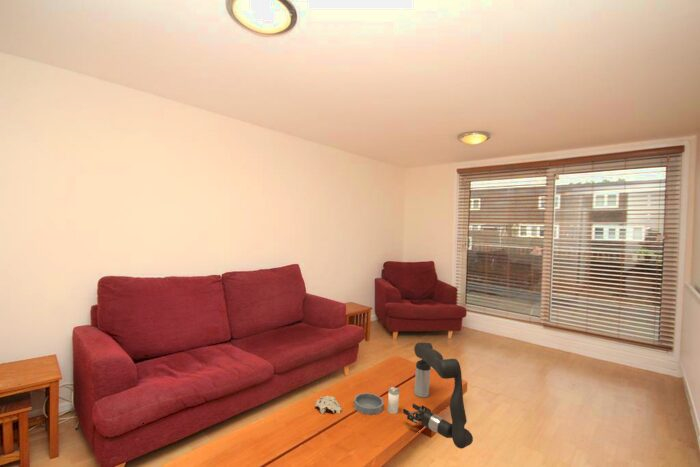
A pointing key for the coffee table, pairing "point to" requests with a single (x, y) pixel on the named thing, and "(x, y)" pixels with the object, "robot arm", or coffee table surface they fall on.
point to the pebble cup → (393, 400)
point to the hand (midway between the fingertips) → (408, 408)
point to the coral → (328, 404)
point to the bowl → (368, 403)
